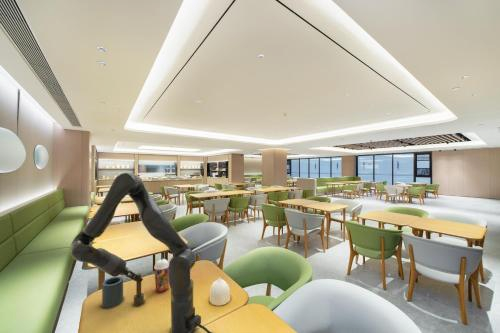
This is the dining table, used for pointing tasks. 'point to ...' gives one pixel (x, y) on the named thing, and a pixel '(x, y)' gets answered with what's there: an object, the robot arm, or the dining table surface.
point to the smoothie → (161, 275)
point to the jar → (112, 292)
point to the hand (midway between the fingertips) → (136, 278)
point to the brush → (138, 294)
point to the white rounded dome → (219, 292)
